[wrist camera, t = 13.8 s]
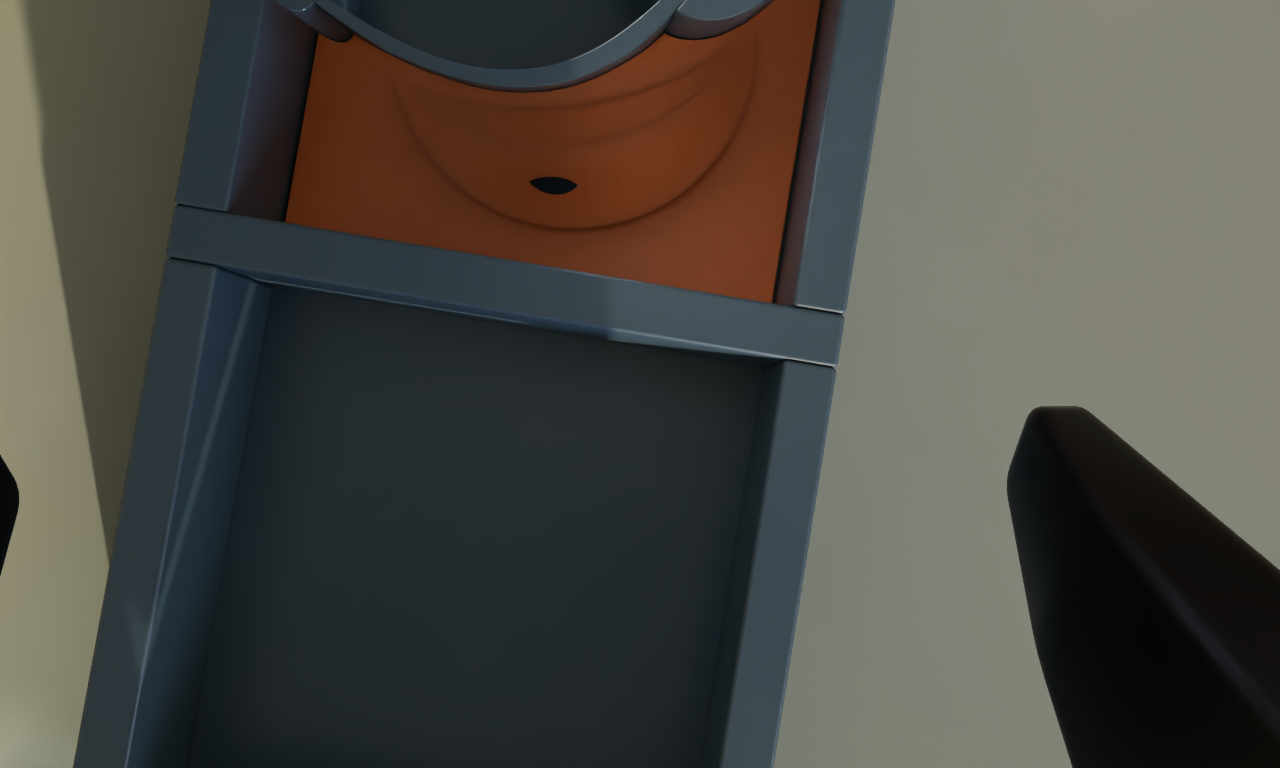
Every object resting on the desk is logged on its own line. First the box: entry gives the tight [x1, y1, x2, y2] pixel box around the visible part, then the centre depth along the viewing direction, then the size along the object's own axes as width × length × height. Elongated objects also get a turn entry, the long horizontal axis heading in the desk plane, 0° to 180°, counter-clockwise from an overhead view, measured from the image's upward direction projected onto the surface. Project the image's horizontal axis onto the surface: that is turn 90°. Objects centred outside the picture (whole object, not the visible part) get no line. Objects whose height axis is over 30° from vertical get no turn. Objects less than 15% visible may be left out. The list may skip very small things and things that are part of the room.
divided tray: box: [73, 0, 895, 768], centre depth 17 cm, size 19×10×3 cm, turn 171°
